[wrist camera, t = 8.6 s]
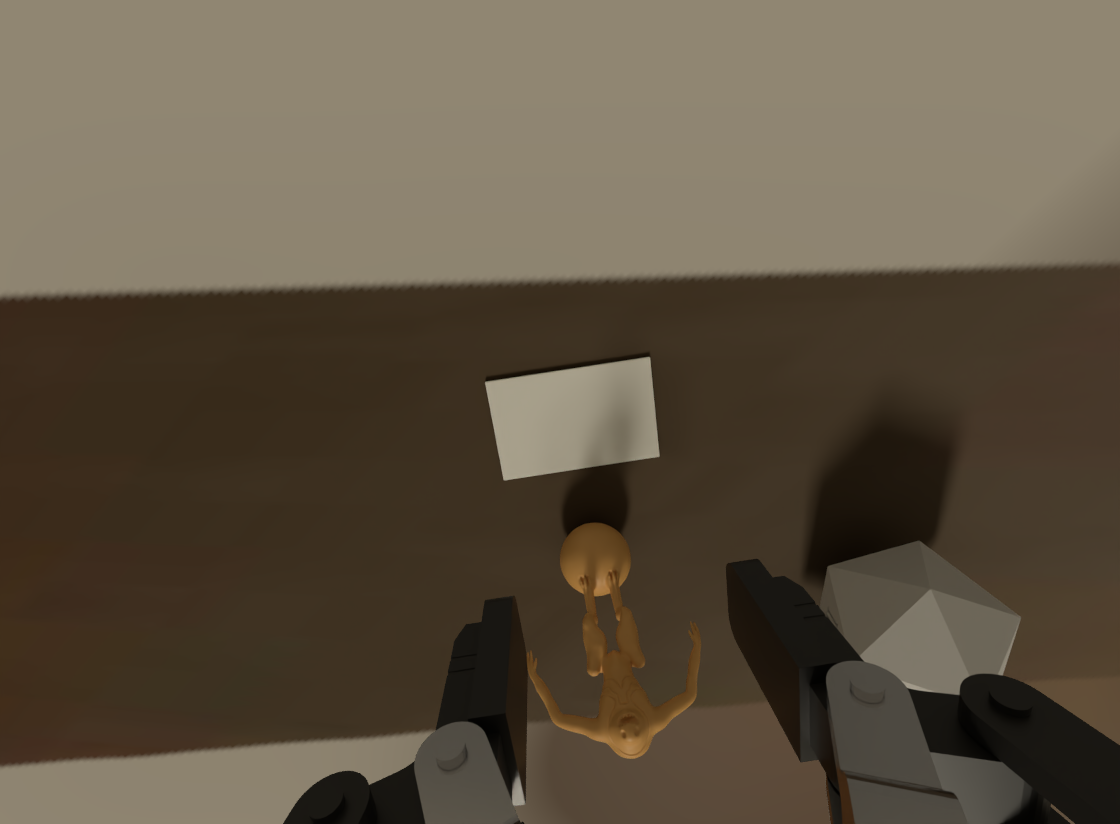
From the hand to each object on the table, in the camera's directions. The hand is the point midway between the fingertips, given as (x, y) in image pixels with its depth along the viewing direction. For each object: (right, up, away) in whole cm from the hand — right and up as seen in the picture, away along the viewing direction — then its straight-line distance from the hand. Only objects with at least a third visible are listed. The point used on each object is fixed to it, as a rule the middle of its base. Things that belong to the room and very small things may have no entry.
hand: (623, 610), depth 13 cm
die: (+17, -6, +20) cm, 27 cm away
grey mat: (-1, +5, +16) cm, 17 cm away
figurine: (0, -4, +19) cm, 19 cm away
